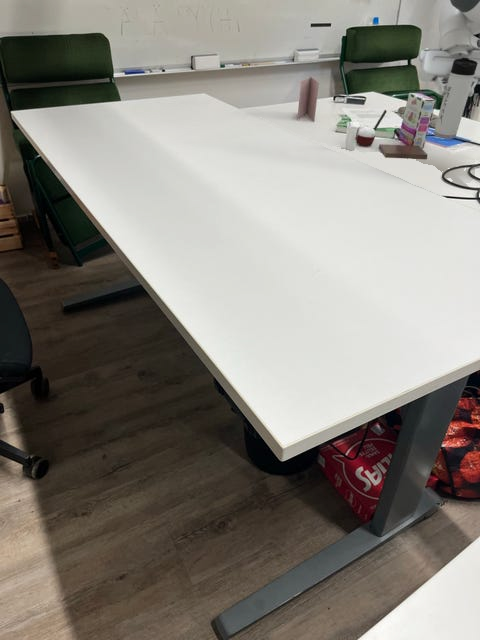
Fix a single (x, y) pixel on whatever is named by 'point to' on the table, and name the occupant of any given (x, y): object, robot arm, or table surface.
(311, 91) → the greeting card
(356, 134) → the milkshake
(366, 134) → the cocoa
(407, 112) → the candy bar box
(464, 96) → the travel mug
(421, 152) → the walnut board
